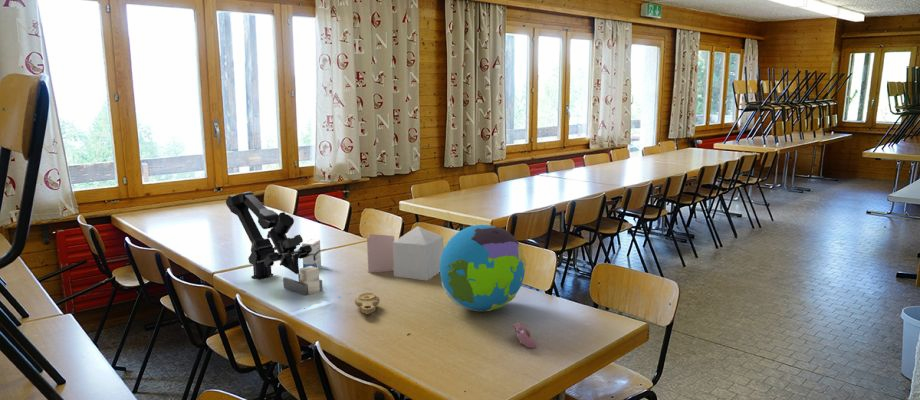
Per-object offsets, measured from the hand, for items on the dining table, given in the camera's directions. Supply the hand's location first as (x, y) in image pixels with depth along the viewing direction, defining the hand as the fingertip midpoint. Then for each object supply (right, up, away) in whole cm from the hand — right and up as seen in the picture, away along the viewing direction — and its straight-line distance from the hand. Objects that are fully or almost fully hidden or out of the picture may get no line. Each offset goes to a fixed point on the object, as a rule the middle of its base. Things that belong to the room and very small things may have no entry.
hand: (298, 273), depth 236 cm
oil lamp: (+30, -11, -21) cm, 38 cm away
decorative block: (+45, -3, +22) cm, 50 cm away
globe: (+70, -10, -21) cm, 74 cm away
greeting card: (+28, -2, +25) cm, 38 cm away
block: (+6, -6, -4) cm, 9 cm away
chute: (+2, -7, -1) cm, 7 cm away
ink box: (-2, -1, +30) cm, 30 cm away
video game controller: (+82, -16, -49) cm, 97 cm away
